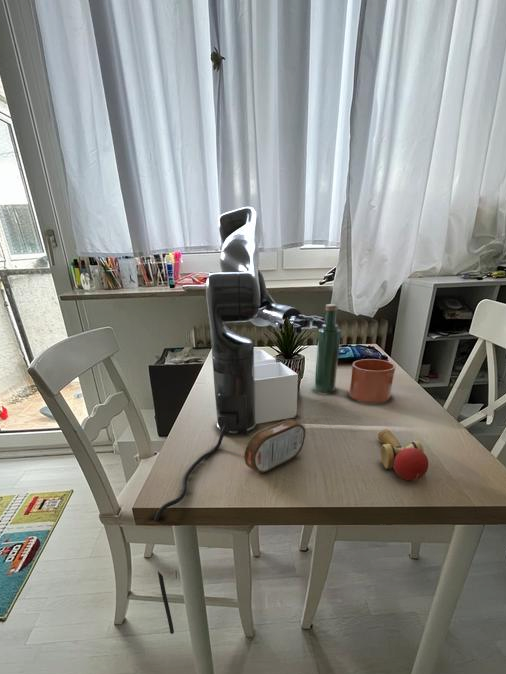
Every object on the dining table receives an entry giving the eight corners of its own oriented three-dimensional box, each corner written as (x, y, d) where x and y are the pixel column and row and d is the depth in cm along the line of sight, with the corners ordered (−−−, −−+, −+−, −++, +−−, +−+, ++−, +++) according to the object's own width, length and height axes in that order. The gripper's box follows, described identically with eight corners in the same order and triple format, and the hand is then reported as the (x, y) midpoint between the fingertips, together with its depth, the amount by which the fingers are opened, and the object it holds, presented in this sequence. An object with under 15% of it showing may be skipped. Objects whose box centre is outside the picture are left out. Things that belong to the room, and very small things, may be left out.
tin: (295, 449, 84) (297, 412, 80) (306, 454, 82) (309, 417, 78) (243, 474, 76) (242, 435, 72) (254, 480, 74) (253, 441, 70)
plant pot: (392, 405, 103) (399, 371, 99) (350, 403, 105) (354, 370, 100) (386, 390, 113) (391, 359, 108) (347, 389, 114) (350, 358, 109)
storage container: (296, 417, 98) (298, 374, 93) (255, 423, 96) (254, 380, 90) (262, 386, 119) (261, 349, 113) (227, 391, 116) (225, 353, 110)
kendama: (362, 448, 86) (390, 482, 70) (370, 420, 84) (401, 450, 68) (395, 452, 87) (431, 488, 71) (404, 425, 84) (443, 456, 68)
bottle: (335, 394, 111) (344, 306, 98) (314, 394, 112) (320, 306, 99) (334, 387, 116) (342, 303, 103) (314, 387, 117) (320, 303, 104)
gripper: (265, 308, 119) (292, 316, 107) (304, 303, 124) (335, 311, 111) (265, 333, 123) (291, 344, 111) (303, 328, 128) (332, 338, 116)
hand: (313, 328), depth 111 cm, fingers open, 8 cm apart
